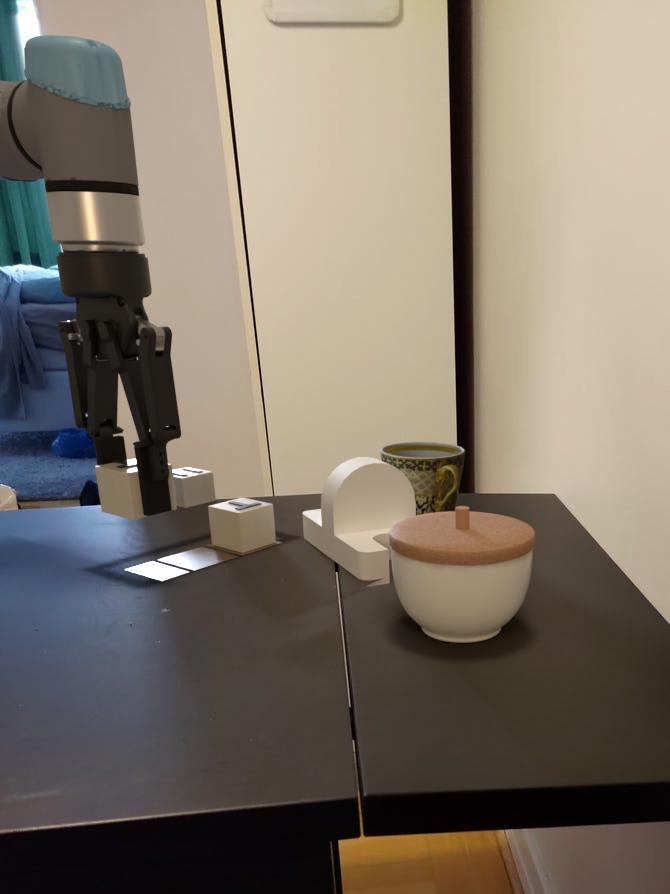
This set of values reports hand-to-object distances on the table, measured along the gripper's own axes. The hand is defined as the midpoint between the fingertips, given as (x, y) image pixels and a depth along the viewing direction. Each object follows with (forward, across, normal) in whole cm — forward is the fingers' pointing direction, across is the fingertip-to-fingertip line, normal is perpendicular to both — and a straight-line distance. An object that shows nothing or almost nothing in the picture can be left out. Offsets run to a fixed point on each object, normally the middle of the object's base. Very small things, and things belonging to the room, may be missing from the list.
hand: (138, 507), depth 86 cm
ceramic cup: (+8, -13, -30) cm, 34 cm away
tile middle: (+7, +21, -22) cm, 31 cm away
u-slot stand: (+8, -13, -20) cm, 25 cm away
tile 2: (+7, 0, -13) cm, 15 cm away
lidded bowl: (+8, -33, -8) cm, 35 cm away
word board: (+8, 0, -6) cm, 10 cm away
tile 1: (0, 0, 0) cm, 0 cm away
